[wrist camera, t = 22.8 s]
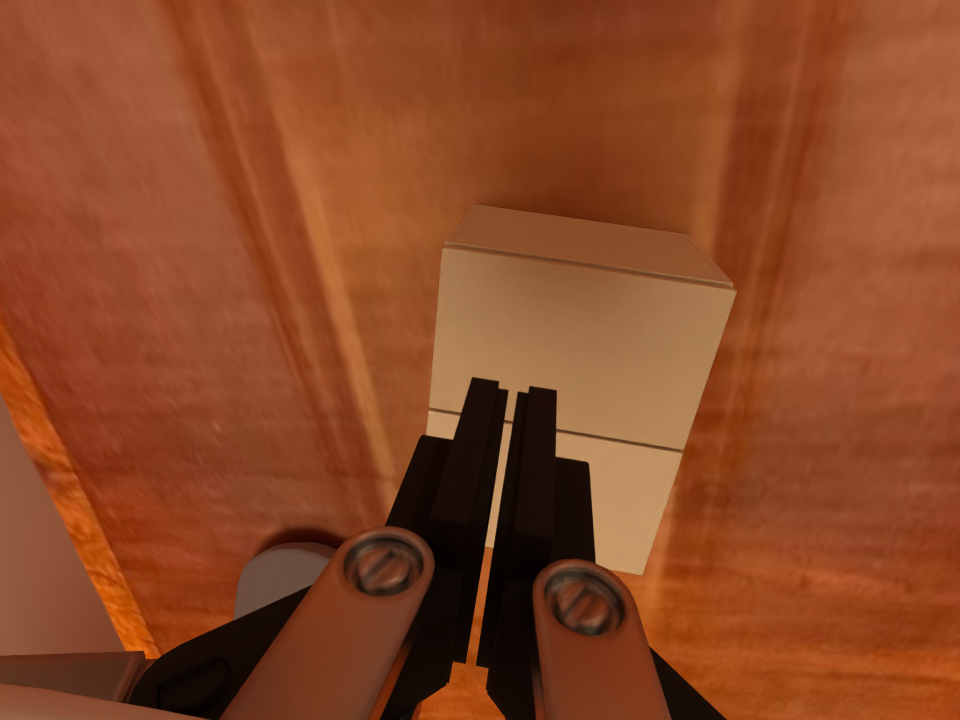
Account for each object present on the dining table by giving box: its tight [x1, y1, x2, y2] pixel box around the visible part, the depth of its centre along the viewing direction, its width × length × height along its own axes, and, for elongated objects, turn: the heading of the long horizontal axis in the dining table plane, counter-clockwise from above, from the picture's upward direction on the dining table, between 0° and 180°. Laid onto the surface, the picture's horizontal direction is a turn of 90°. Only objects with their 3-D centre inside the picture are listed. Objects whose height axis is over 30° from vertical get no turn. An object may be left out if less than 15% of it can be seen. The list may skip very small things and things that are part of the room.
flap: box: [429, 246, 737, 450], centre depth 26 cm, size 8×13×1 cm, turn 83°
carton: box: [426, 204, 733, 575], centre depth 32 cm, size 17×13×10 cm
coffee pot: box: [233, 542, 337, 620], centre depth 43 cm, size 21×12×15 cm, turn 101°
